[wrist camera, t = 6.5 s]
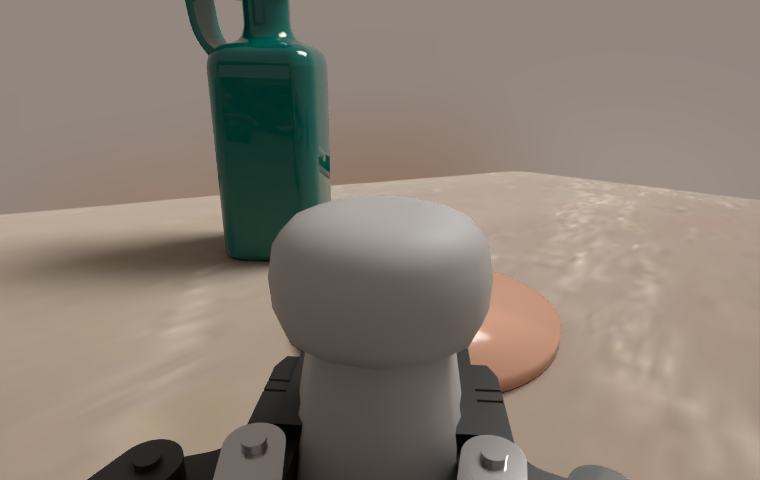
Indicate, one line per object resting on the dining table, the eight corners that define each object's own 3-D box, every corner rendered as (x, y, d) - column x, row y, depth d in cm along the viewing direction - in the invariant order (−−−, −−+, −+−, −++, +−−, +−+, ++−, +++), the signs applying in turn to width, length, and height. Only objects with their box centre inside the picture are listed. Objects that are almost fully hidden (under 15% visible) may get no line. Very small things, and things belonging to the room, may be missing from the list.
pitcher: (334, 231, 49) (328, -17, 42) (318, 264, 41) (306, -36, 34) (237, 229, 50) (214, -16, 43) (203, 260, 42) (167, -35, 35)
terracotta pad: (261, 307, 34) (260, 294, 33) (437, 257, 43) (437, 246, 42) (409, 446, 22) (410, 427, 21) (613, 336, 30) (616, 321, 30)
